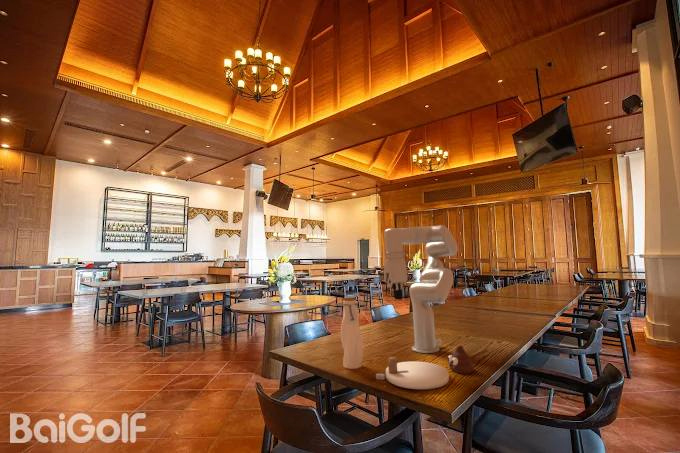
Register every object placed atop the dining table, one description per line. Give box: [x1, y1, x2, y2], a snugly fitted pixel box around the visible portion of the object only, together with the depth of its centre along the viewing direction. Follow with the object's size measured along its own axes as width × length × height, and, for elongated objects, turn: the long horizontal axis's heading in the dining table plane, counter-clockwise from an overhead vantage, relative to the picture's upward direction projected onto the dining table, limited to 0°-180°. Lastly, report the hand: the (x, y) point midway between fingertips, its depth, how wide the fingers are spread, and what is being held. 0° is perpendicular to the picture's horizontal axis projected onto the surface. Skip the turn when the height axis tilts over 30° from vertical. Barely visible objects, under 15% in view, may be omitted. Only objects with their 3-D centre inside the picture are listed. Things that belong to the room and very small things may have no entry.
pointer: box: [375, 373, 386, 380], centre depth 116 cm, size 3×1×2 cm, turn 82°
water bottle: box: [340, 295, 364, 370], centre depth 132 cm, size 10×9×28 cm
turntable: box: [385, 356, 450, 390], centre depth 114 cm, size 22×22×7 cm
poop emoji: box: [447, 345, 475, 375], centre depth 122 cm, size 10×8×9 cm
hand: (398, 299), depth 137 cm, fingers closed
